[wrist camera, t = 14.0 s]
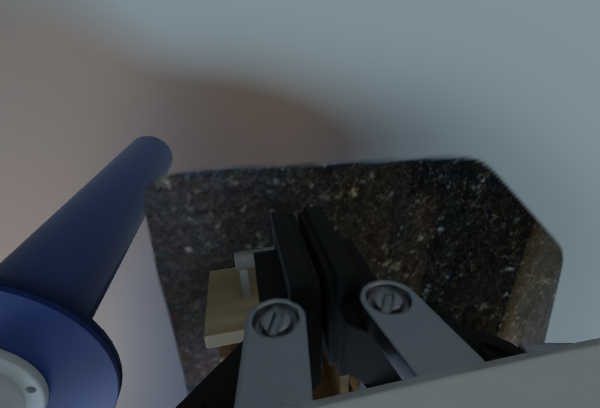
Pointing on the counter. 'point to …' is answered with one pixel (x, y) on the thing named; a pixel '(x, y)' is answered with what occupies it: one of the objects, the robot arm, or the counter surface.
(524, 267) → the counter surface
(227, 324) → the drawer
